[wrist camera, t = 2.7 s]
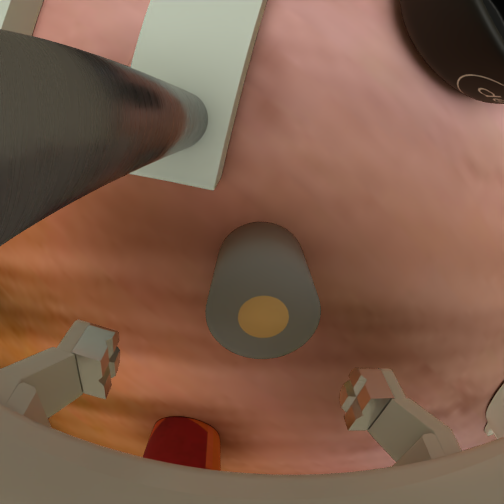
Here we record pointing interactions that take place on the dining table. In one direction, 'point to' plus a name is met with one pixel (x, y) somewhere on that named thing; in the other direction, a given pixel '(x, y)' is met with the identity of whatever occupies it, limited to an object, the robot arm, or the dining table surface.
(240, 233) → the grey cylinder orange dot
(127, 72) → the hook post
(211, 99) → the pale green square frame
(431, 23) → the mug
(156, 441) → the coffee cup
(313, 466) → the dining table surface
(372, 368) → the robot arm
